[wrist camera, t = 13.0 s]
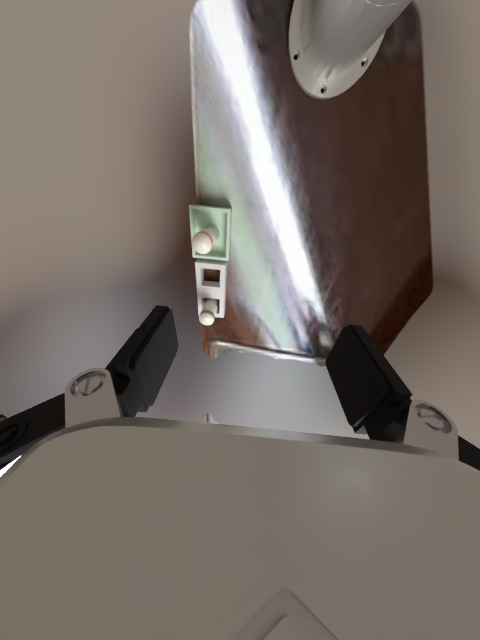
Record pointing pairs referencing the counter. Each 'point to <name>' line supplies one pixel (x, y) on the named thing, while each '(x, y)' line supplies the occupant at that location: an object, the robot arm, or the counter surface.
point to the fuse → (209, 311)
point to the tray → (218, 218)
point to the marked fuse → (205, 239)
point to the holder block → (211, 284)
